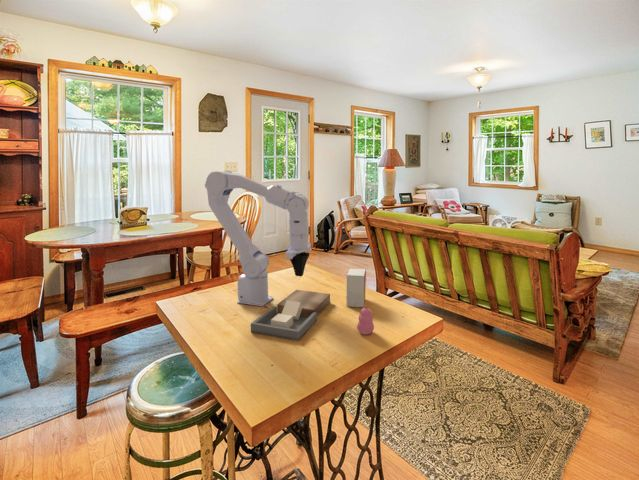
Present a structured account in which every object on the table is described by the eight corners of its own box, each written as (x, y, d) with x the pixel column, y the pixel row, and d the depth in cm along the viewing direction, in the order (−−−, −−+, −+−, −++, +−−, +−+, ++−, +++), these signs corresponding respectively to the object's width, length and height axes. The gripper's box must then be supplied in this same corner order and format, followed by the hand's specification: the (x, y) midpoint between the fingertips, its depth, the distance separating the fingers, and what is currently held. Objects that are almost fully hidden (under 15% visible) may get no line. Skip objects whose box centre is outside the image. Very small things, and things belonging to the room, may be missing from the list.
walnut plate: (277, 313, 110) (277, 304, 110) (296, 298, 123) (296, 289, 123) (314, 319, 106) (314, 309, 106) (330, 302, 119) (330, 294, 118)
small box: (363, 308, 115) (364, 276, 112) (346, 306, 116) (346, 275, 114) (365, 299, 122) (366, 268, 120) (349, 297, 123) (349, 267, 121)
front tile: (278, 313, 103) (279, 321, 104) (270, 319, 99) (271, 328, 100) (293, 315, 102) (293, 324, 102) (285, 322, 97) (285, 330, 98)
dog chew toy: (358, 328, 101) (359, 303, 99) (375, 330, 99) (375, 305, 98) (355, 335, 97) (356, 309, 95) (372, 337, 95) (372, 311, 94)
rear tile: (284, 317, 106) (281, 313, 104) (289, 304, 109) (286, 300, 107) (298, 320, 105) (295, 316, 103) (303, 306, 107) (300, 302, 105)
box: (251, 332, 98) (250, 323, 98) (273, 313, 110) (273, 306, 110) (298, 340, 94) (298, 331, 93) (316, 320, 105) (316, 312, 105)
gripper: (300, 239, 106) (300, 283, 109) (319, 230, 119) (319, 270, 122) (278, 237, 109) (280, 281, 111) (299, 229, 122) (300, 268, 125)
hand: (299, 275), depth 117 cm, fingers closed
